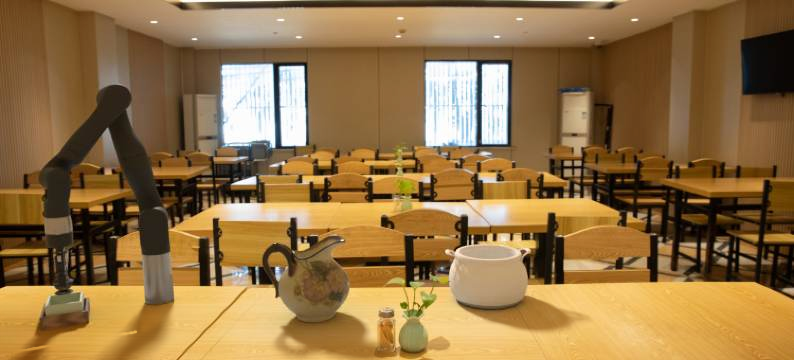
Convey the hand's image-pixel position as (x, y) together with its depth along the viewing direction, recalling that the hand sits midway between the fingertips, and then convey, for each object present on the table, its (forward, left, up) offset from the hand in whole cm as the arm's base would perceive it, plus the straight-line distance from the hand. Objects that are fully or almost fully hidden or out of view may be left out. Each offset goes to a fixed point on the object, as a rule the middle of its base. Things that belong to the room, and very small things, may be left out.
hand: (63, 282), depth 190 cm
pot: (-129, +45, -13) cm, 137 cm away
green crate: (0, 0, -12) cm, 12 cm away
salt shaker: (0, 0, -3) cm, 3 cm away
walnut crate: (0, 0, -12) cm, 12 cm away
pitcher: (-71, +33, -13) cm, 79 cm away
